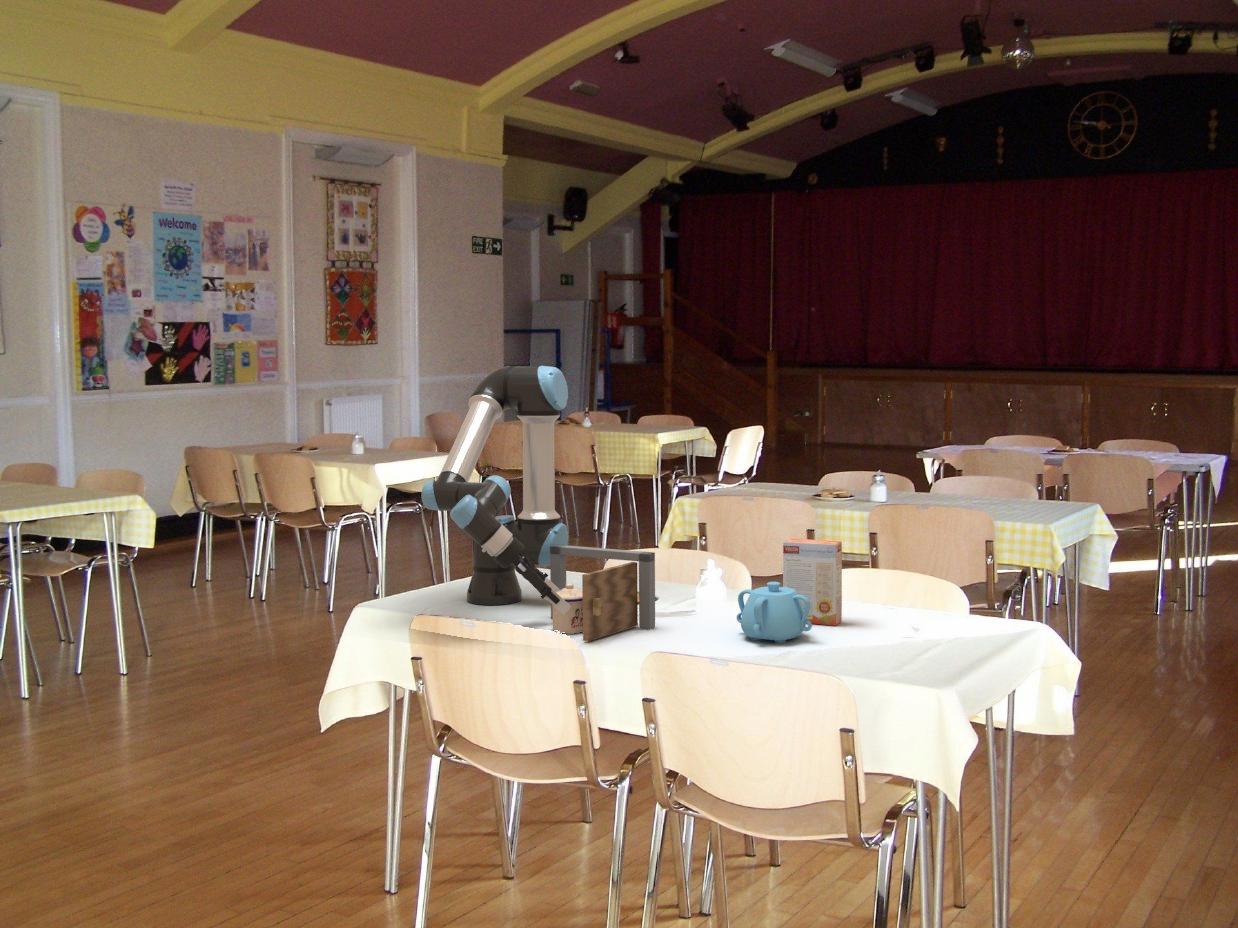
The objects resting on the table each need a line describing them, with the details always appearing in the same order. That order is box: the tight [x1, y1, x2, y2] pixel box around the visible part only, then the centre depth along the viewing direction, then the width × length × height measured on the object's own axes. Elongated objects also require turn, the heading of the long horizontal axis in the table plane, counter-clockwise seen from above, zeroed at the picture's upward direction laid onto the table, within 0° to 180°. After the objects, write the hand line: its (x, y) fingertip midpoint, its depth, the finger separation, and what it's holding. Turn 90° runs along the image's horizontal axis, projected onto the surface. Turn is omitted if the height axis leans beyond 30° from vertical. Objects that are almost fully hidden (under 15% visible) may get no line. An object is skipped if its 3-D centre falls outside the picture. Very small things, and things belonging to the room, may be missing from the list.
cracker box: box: [782, 538, 843, 627], centre depth 325 cm, size 14×6×21 cm, turn 65°
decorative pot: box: [736, 581, 813, 644], centre depth 309 cm, size 16×16×14 cm
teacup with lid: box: [552, 583, 583, 635], centre depth 319 cm, size 12×9×12 cm
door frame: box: [549, 544, 656, 631], centre depth 325 cm, size 3×28×19 cm, turn 63°
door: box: [581, 561, 639, 642], centre depth 312 cm, size 20×3×16 cm, turn 143°
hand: (564, 604), depth 319 cm, fingers open, 13 cm apart
